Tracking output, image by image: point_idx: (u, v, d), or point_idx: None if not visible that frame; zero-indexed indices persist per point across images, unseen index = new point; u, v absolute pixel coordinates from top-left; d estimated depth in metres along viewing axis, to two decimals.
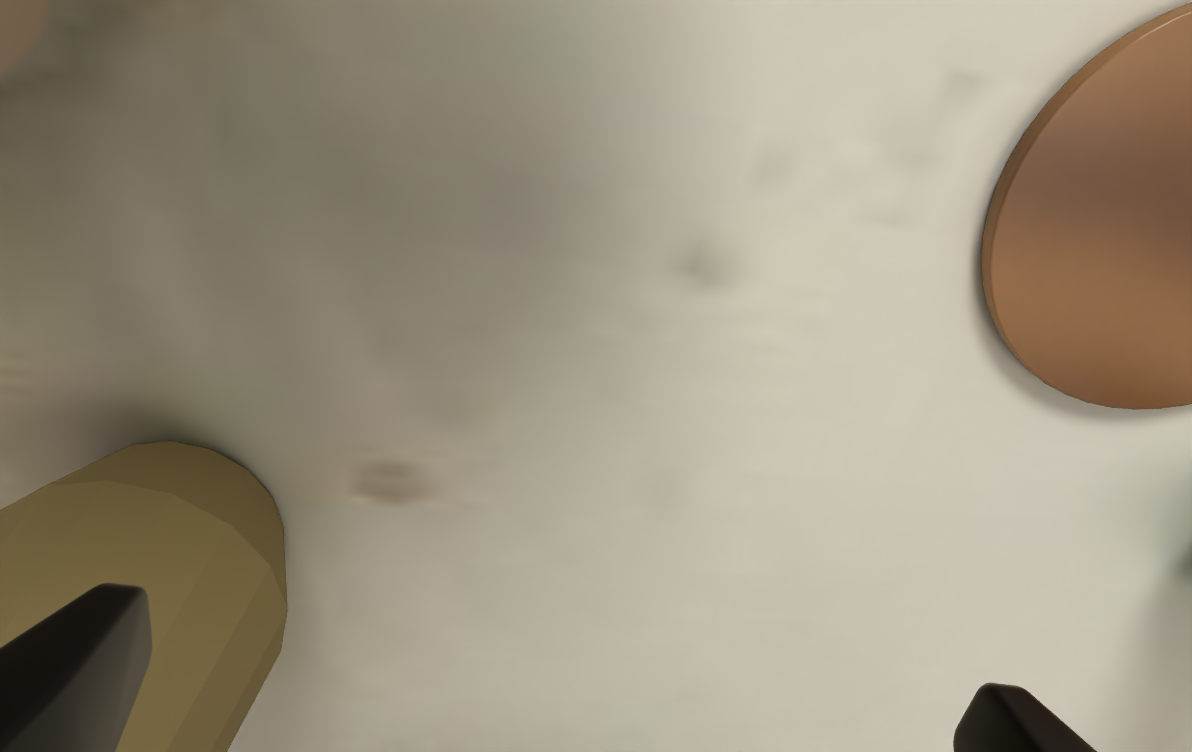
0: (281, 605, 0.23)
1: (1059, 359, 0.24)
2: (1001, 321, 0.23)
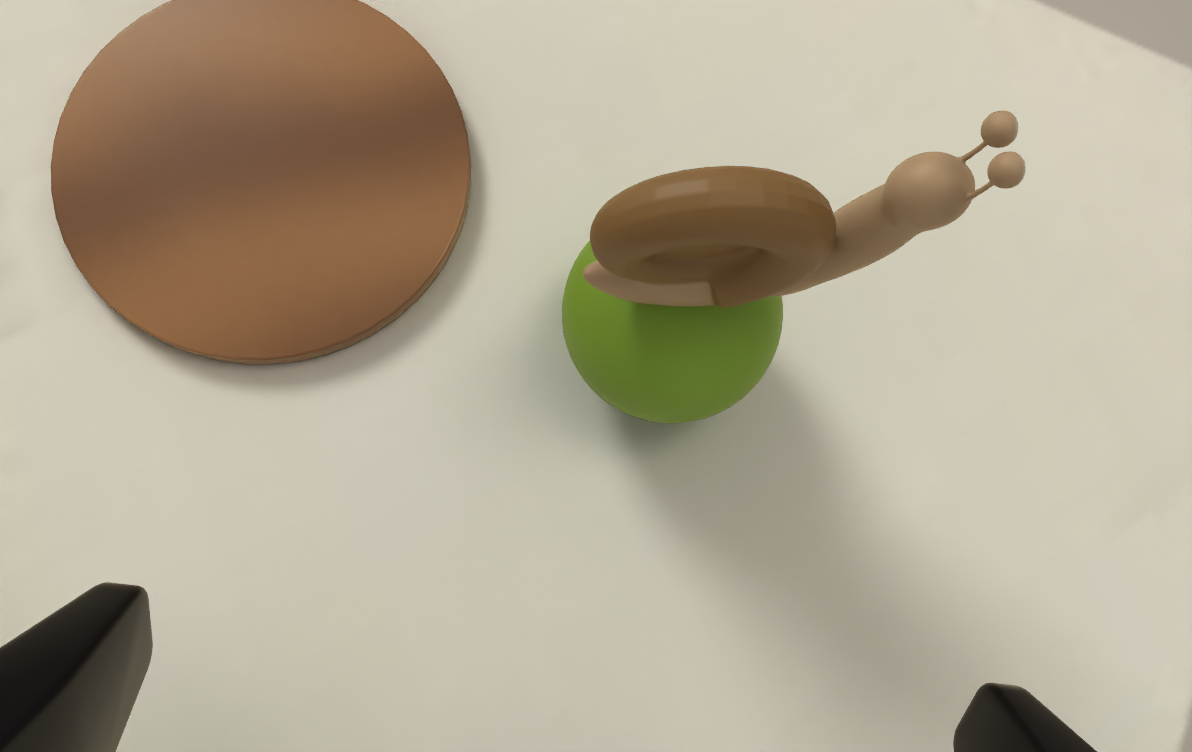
0: None
1: (251, 332, 0.22)
2: (161, 336, 0.22)
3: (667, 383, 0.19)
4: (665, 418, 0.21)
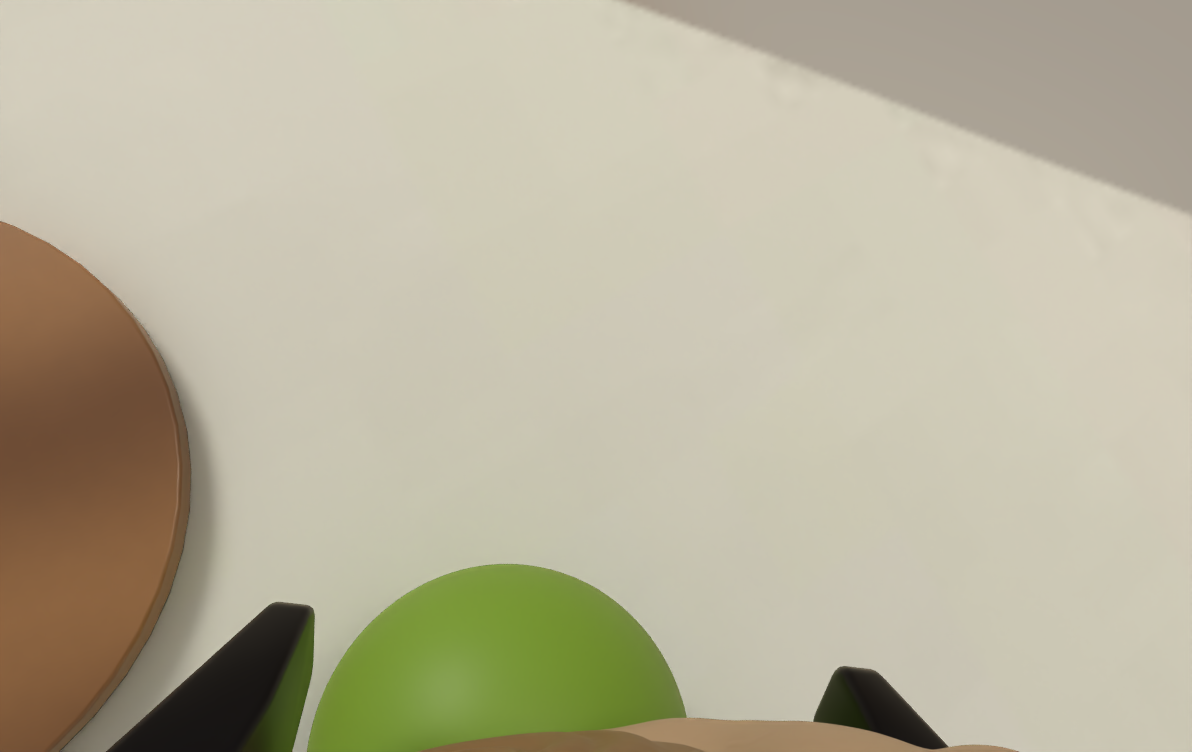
0: None
1: None
2: None
3: None
4: None
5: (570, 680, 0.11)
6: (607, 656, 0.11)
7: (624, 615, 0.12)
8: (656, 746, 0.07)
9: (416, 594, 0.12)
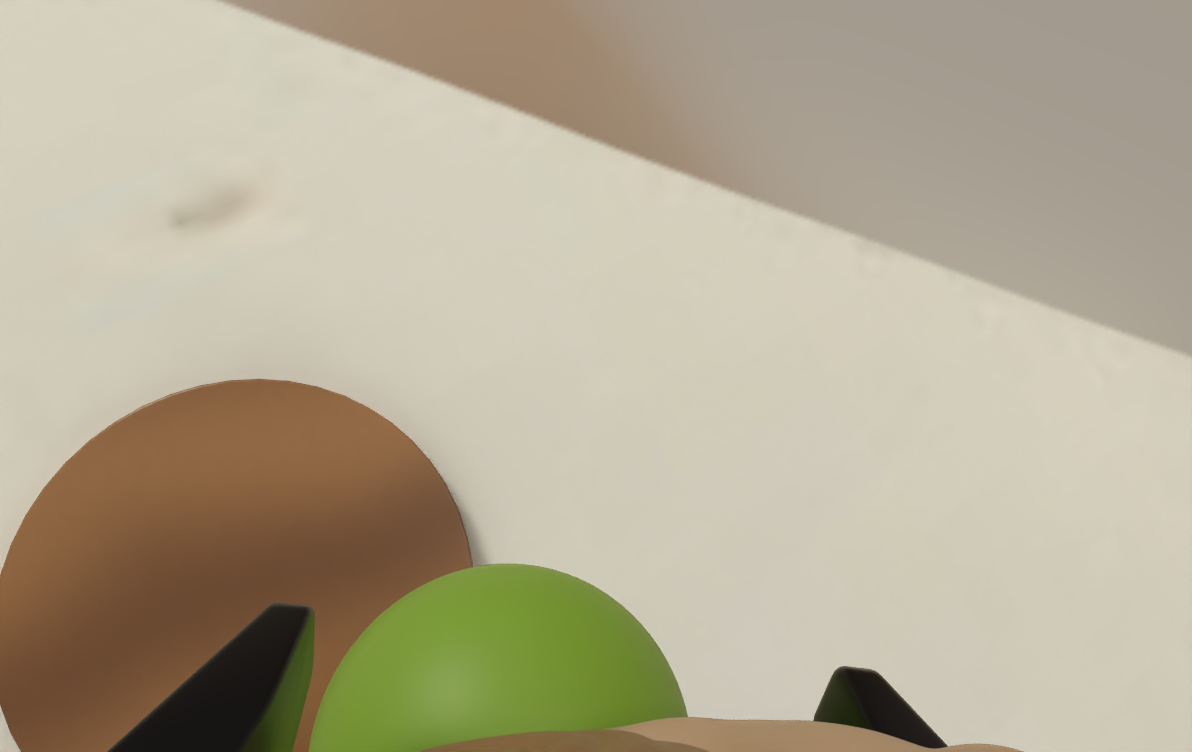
0: None
1: None
2: None
3: None
4: None
5: (572, 680, 0.11)
6: (609, 656, 0.11)
7: (625, 615, 0.12)
8: (657, 745, 0.08)
9: (418, 594, 0.12)
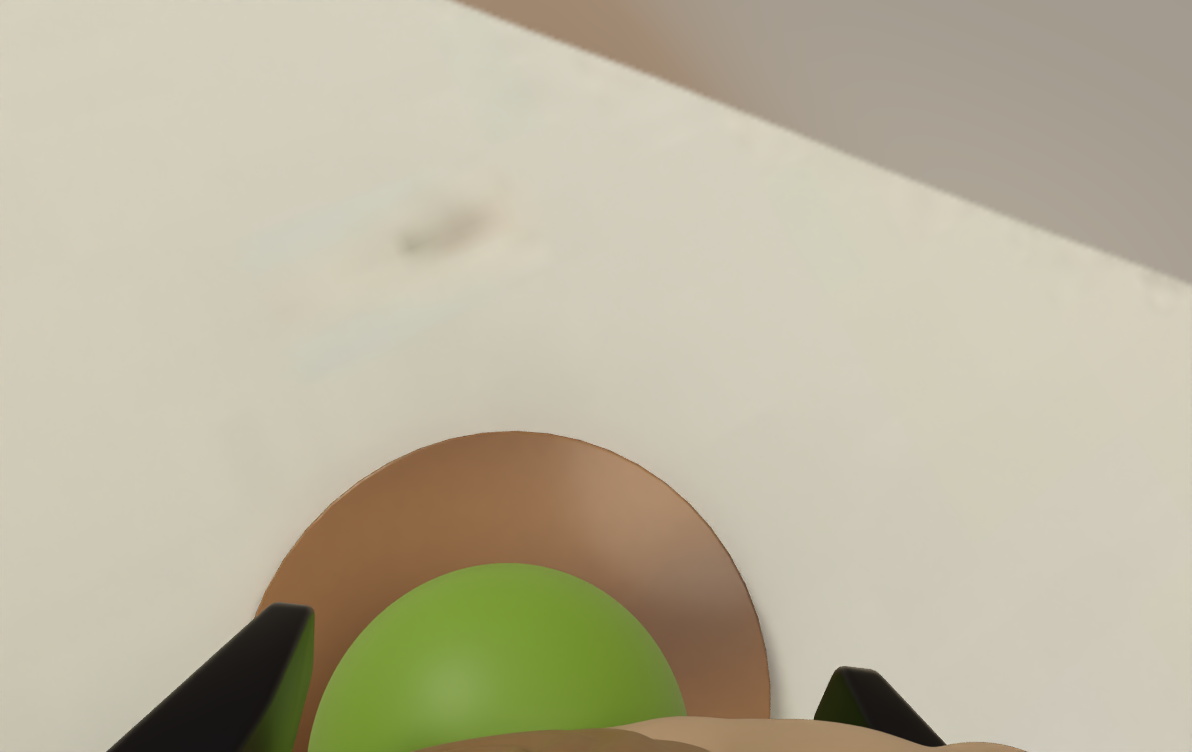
0: None
1: None
2: None
3: None
4: None
5: (571, 680, 0.11)
6: (609, 654, 0.11)
7: (625, 614, 0.12)
8: (657, 744, 0.07)
9: (417, 593, 0.12)
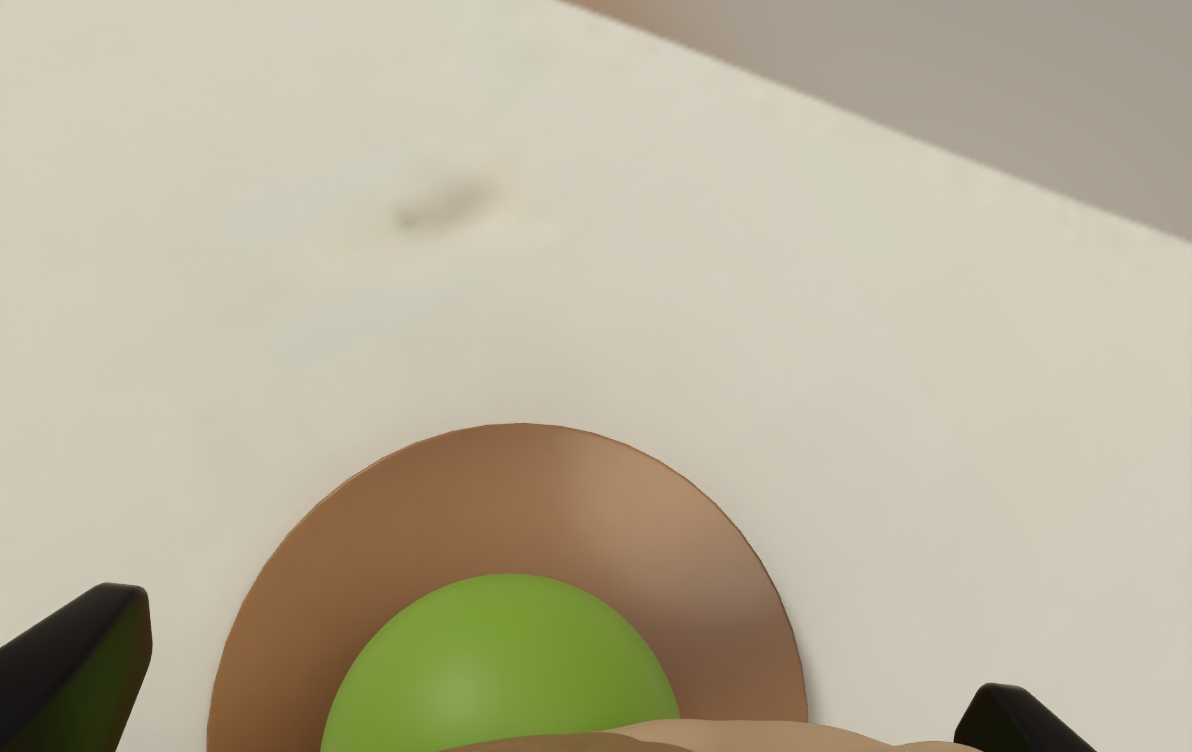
0: None
1: None
2: None
3: None
4: None
5: (568, 684, 0.11)
6: (603, 660, 0.12)
7: (619, 621, 0.13)
8: (645, 746, 0.08)
9: (421, 604, 0.13)
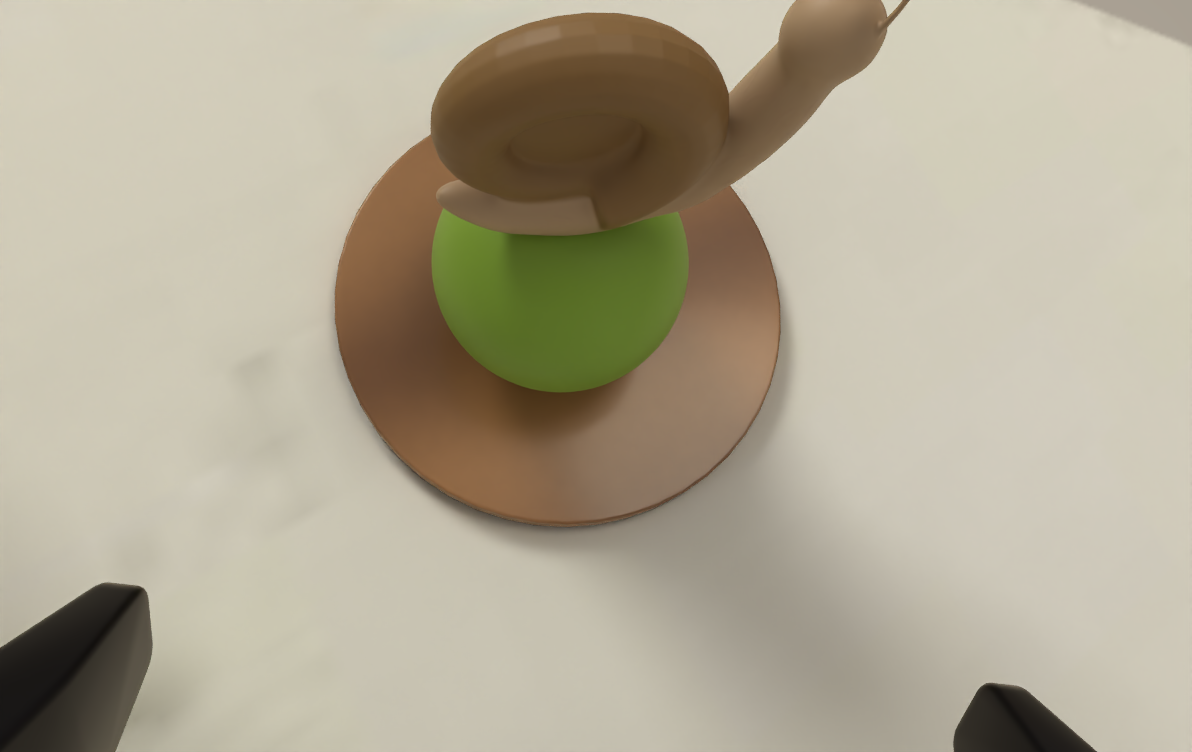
0: None
1: (580, 492, 0.20)
2: (483, 505, 0.20)
3: (556, 333, 0.16)
4: (561, 382, 0.17)
5: None
6: None
7: None
8: None
9: None
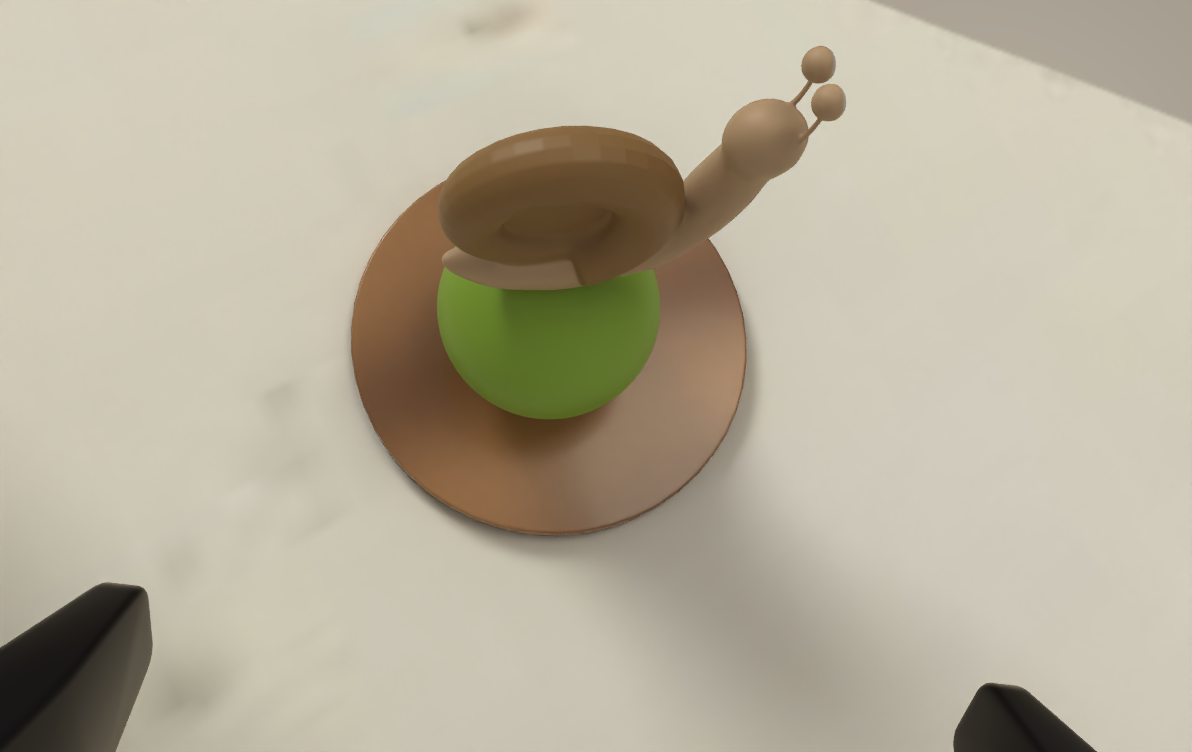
0: None
1: (567, 505, 0.23)
2: (482, 516, 0.22)
3: (544, 372, 0.19)
4: (549, 412, 0.20)
5: None
6: None
7: None
8: None
9: None
